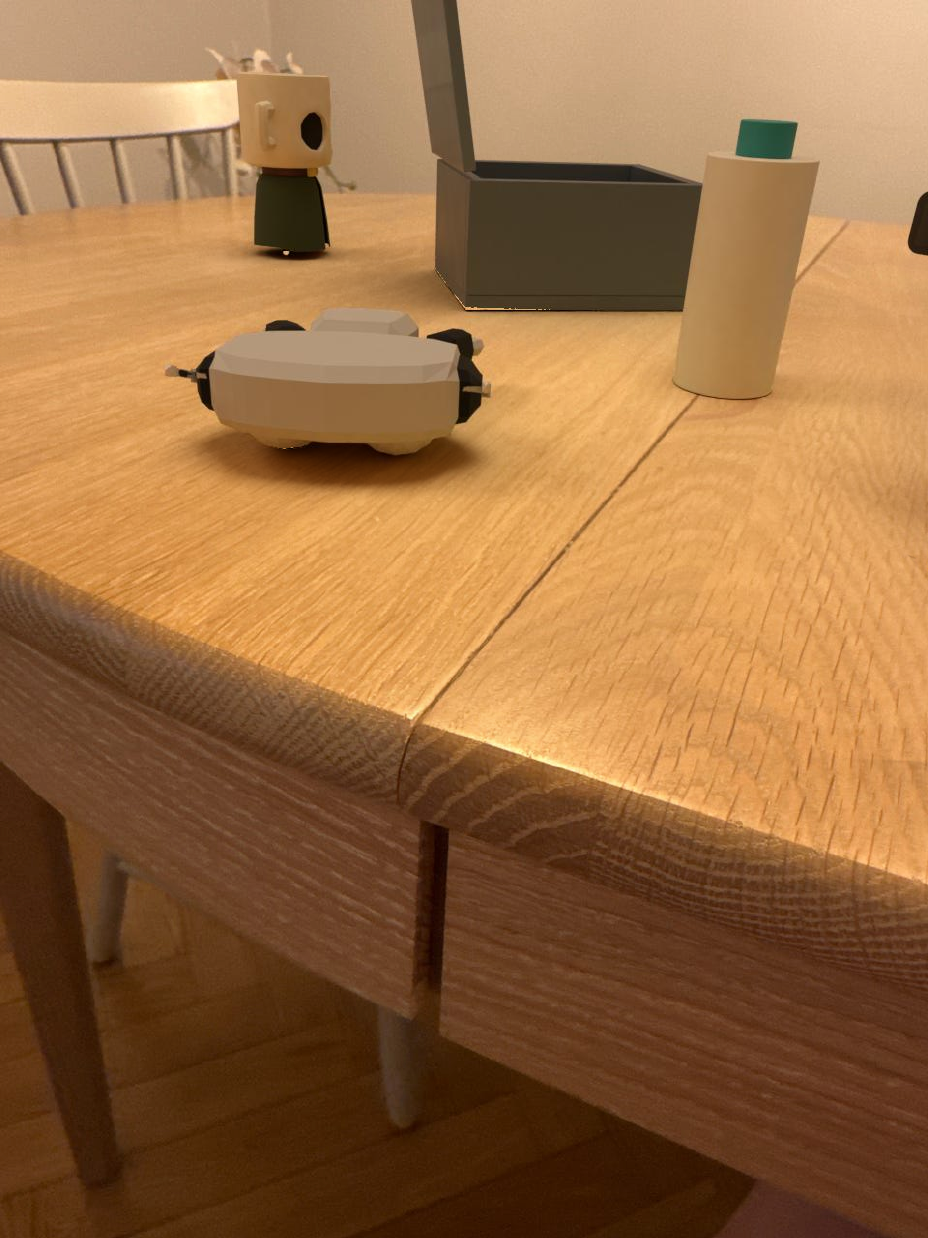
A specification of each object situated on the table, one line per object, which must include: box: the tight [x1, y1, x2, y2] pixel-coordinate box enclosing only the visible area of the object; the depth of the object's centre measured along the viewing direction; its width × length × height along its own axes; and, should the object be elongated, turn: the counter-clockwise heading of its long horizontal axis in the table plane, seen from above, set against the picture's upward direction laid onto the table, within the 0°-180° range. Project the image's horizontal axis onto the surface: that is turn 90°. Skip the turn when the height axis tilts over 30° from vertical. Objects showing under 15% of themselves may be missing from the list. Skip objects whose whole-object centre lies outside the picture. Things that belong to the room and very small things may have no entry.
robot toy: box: [164, 307, 492, 456], centre depth 42 cm, size 12×4×15 cm
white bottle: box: [672, 118, 820, 400], centre depth 47 cm, size 5×5×12 cm
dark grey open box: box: [434, 158, 703, 312], centre depth 68 cm, size 16×14×8 cm
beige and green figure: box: [235, 71, 334, 253], centre depth 75 cm, size 11×7×13 cm, turn 168°
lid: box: [410, 0, 476, 172], centre depth 60 cm, size 17×14×1 cm
